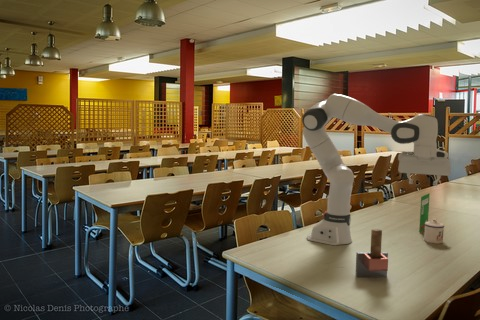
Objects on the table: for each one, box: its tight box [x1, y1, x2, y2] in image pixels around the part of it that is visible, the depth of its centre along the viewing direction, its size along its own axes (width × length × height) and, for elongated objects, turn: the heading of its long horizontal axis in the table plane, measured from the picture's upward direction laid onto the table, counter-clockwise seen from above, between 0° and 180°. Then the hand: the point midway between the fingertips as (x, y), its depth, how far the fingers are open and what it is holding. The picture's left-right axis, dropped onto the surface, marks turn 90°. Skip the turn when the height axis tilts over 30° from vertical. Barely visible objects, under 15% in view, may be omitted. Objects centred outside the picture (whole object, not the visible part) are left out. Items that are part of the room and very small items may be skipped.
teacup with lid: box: [423, 218, 445, 245], centre depth 201 cm, size 12×9×12 cm
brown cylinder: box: [369, 228, 383, 258], centre depth 150 cm, size 4×4×14 cm
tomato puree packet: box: [418, 193, 430, 233], centre depth 221 cm, size 15×1×20 cm, turn 139°
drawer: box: [355, 251, 389, 278], centre depth 151 cm, size 12×8×10 cm, turn 92°
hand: (422, 184), depth 168 cm, fingers open, 8 cm apart
